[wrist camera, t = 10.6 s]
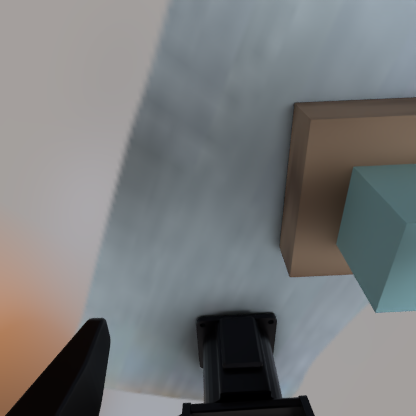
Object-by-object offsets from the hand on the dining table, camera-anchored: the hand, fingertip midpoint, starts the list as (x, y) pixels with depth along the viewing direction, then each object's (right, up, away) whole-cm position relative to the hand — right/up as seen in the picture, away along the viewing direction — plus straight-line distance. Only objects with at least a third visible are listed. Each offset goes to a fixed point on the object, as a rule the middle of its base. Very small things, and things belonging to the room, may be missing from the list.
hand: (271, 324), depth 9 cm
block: (+8, +3, +9) cm, 13 cm away
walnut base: (+8, +5, +12) cm, 15 cm away
